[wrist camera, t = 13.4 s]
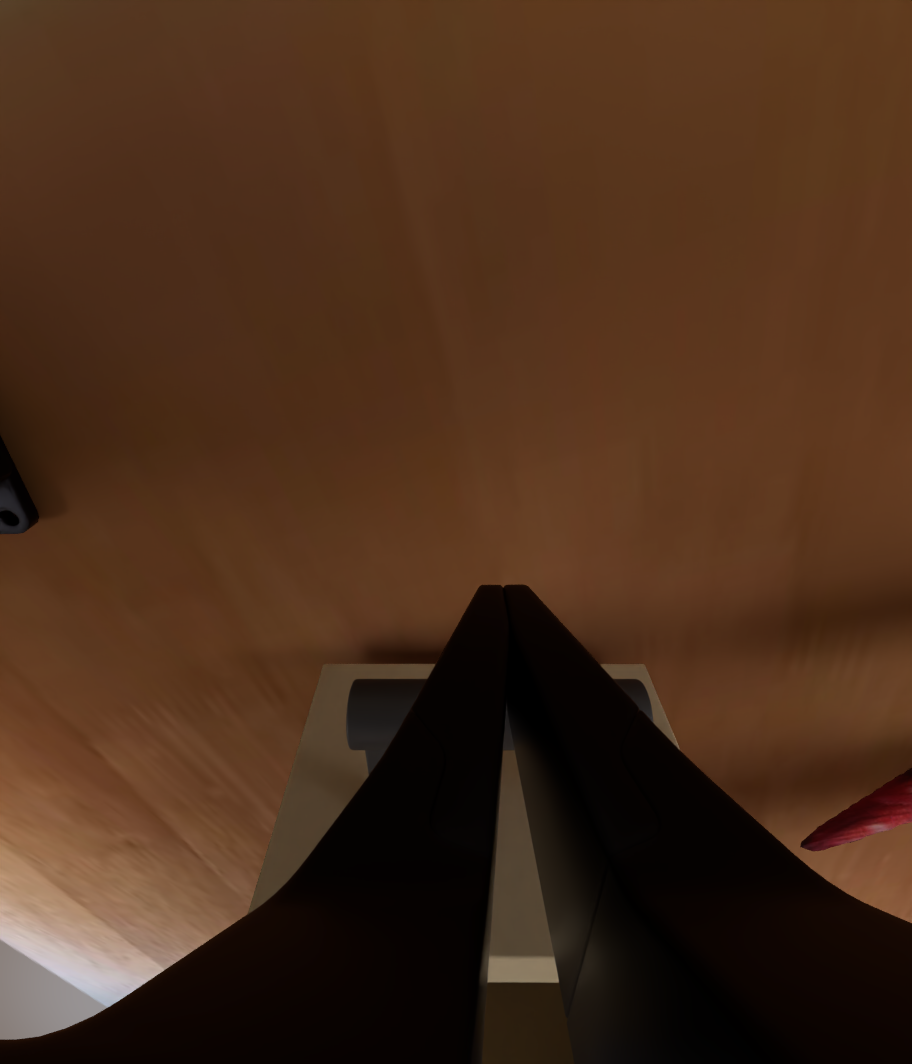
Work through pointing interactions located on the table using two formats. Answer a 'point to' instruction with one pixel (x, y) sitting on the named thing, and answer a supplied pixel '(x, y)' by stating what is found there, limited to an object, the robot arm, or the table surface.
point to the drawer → (518, 908)
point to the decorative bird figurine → (867, 816)
